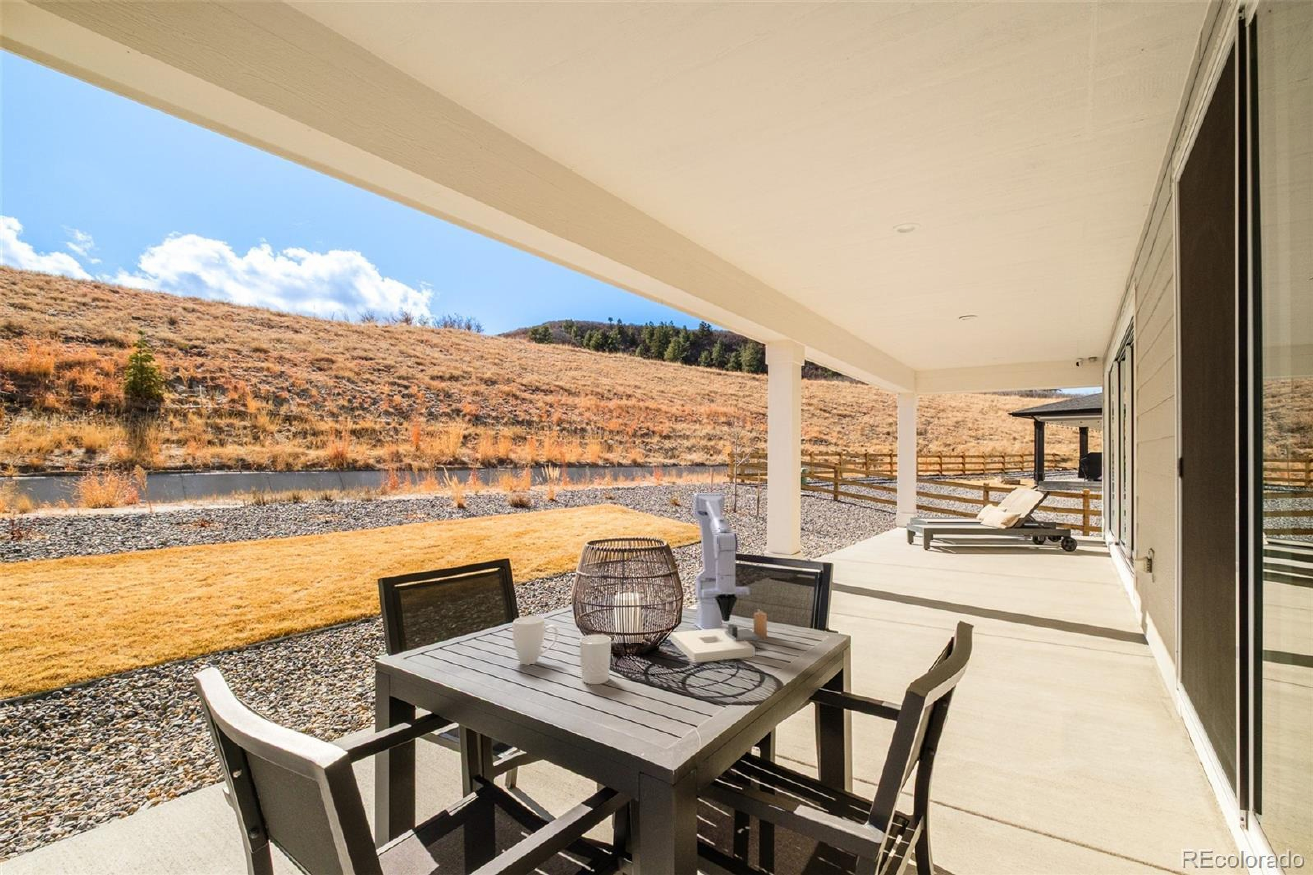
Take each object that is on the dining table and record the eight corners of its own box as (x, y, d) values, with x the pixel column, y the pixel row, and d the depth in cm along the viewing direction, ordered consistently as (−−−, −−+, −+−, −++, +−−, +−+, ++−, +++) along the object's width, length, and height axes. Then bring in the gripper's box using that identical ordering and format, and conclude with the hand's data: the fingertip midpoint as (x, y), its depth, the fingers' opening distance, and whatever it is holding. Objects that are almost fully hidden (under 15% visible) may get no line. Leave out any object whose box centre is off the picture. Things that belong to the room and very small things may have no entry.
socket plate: (670, 641, 179) (670, 632, 179) (725, 635, 184) (725, 627, 185) (694, 662, 160) (694, 653, 160) (754, 656, 165) (754, 647, 165)
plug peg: (751, 635, 185) (751, 609, 185) (763, 634, 186) (762, 608, 186) (757, 639, 181) (757, 612, 181) (769, 638, 182) (769, 611, 183)
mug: (509, 668, 156) (509, 624, 156) (516, 657, 164) (517, 615, 165) (555, 667, 156) (555, 624, 156) (560, 657, 164) (560, 615, 165)
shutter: (725, 633, 178) (724, 622, 178) (748, 631, 180) (747, 620, 180) (735, 641, 171) (735, 629, 171) (759, 638, 173) (759, 627, 173)
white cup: (617, 677, 149) (617, 637, 150) (598, 688, 142) (599, 645, 143) (592, 671, 153) (592, 632, 154) (572, 681, 146) (573, 640, 147)
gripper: (707, 578, 168) (708, 626, 168) (754, 575, 173) (754, 622, 172) (698, 573, 175) (698, 619, 175) (743, 570, 179) (743, 615, 179)
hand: (725, 620), depth 174 cm, fingers closed
